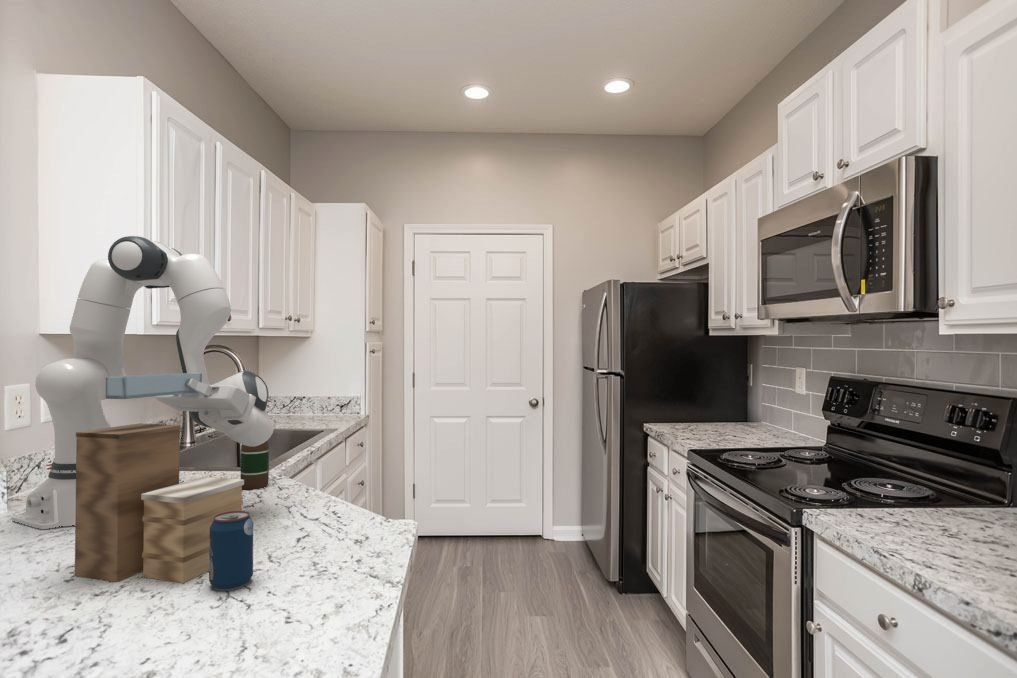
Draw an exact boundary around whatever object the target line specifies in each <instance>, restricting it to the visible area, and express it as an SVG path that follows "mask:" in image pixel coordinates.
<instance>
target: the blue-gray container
mask: <svg viewBox="0 0 1017 678" xmlns="http://www.w3.org/2000/svg"><path fill="white" fill-rule="evenodd" d="M187 379H195V380H197V381H198V382H201V383H202V373H183V372H182V373H181V372H180V373H178V372H177V373H164V374H163V373H160V374H159V373H158V374H144V375H140V374H139V375H126V376H119V377H106V393H105V400H109V399H110V400H130V399H139V398H141V399H142V398H150V397H151V398H153V397H156V396H164V395H175V394H186V393H196V392H197V391H195V390H193V389H189V388H187V387H186V386H185V382H186V380H187Z"/></svg>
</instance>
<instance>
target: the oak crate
mask: <svg viewBox="0 0 1017 678" xmlns="http://www.w3.org/2000/svg"><path fill="white" fill-rule="evenodd" d="M242 485H244V480H242V479H241V478H229V477H226V478H225V477H212V476H202V477H199V478H195V479H192V480H188V481H184V482H181V483H180V482H179V484H177V485H173V486H169V487H165V488H162V489H158V490H154V491H151V492H147V493H143V494H141V500H144V516H142V521H143V522H144V550H143V552H142V558H143V572H142V573H143V575H142V576H143V577H142V578H145V579H153V580H161V581H167V582H173V583H180V584H181V583H182V584H185V583H186V582H188V581H190V580H192V578H193V579H195V578H196V577H199V576H202V575H203V574H205V573H208V572H209V538H210V526H211V524H212V522H213V520H214V519H213V518H214V516H216V515H218V514H221V513H225V512H230V511H243V510H242V506H243V504H244V502H243V501H244V500H243V499H242V498H243V495H242V494H243V491H242V490H243V489H242Z"/></svg>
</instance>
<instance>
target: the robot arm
mask: <svg viewBox="0 0 1017 678" xmlns="http://www.w3.org/2000/svg"><path fill="white" fill-rule="evenodd" d="M143 287H144V288H145V289H149V290H150V289H164V288H166V289H167V288H170V289H171V291H172V293H173V294H174V297H175V300H176V303H177V306H178V308H179V313H180V321H179V322H180V323H179V328H178V329H177V331H176V334H175V341H176V347H177V353H178V357H179V362H180V363H179V364H180V367H181V371H182V373H202V383H201V382H198V381H197V380H195V379H187V380H186V382H185V386H186V387H187V388H189V389H193V390H195V391H197V392H196V393H186V394H175V395H164V396H155V398H156V400H157V401H159V402H160V403H163V404H164V405H165V406H168V407H171V408H173V409H174V410H177V411H180V412H181V411H182V412H188V415H189V416H190V418H191V420H192V421H193V422H194V423H196V424H197V425H200V426H202V427H206V428H210V429H214V430H215V431H217V432H219V433H224V435H225V436H227V437H228V438H229V439H230V440H233V441H235V442H236V443H238V444H240V445H242V444H243V445H246V446H250V447H255V446H258V445H261V444H263V443H264V442H266V441H268V440H269V439H270V438H271V437H272V435H273V433H274V429H275V426H274V422H273V421H272V419H271V418H270V416H269V414H268V413H267V406H268V401H269V396H270V395H269V388H268V386H267V384H266V382H265V380H264V379H263V378H261V376H259V375H258V374H256V373H255V372H252V371H250V370H244V371H241V372H238V373H235V374H233V375H231V376H229V377H226V378H224V379H223V380H220V381H217V382H215V383H213V384H210V380H209V376H208V372H207V366H206V363H205V358H204V356H205V355H204V352H205V350H206V349H205V348H206V347H207V345H208V344H209V342H210V341H211V340H212V339H213V337H215V335H216V334H217V333H218V332H220V330H222V329H223V328H224V326H225V325H226V324H227V322H228V320H229V318H230V316H231V312H232V308H231V303H230V299H229V296H228V294H227V292H226V289H225V287H224V283H222V280H221V279H220V277H219V275H218V273H217V271H216V270H215V268H214V266H213V265H212V263H211V262H210V261H209V259H208V258H206V256H205V255H202V254H198V253H184V254H183V253H181V252H180V251H178V250H177V249H175V248H173V247H170V246H169V245H167V244H164V243H162V242H160V241H157V240H151V239H148V238H146V237H144V236H143V237H142V236H137V235H136V236H135V235H129V236H123V237H120V238H118V239H117V240H115V241H114V242H112V244H111V245H110V248H109V250H108V253H107V258H105V259H98V260H95V261H94V262H93V263H92V264H91V265H90V267H89V269H88V270H87V272H86V274H85V277H84V279H83V281H82V283H81V286H80V289H79V291H78V294H77V300H76V303H75V306H74V309H73V313H72V317H71V320H70V325H69V333H70V335H71V336H72V340H73V358H63V359H59V360H56V361H54V362H52V363H49V364H48V365H45V366H44V367H43V368H42V369H40V370H39V372H38V373H37V375H36V378H35V389H36V392H37V394H38V395H39V397H40V398H42V399H43V401H45V403H46V406H47V408H48V411H49V414H50V418H51V421H52V424H53V432H54V461H53V462H52V463H51V464H46V467H47V468H46V470H47V471H48V470H49V472H48V475H47V477H48V478H47V479H45V481H43V482H42V483H41V484H39V486H37V487H36V488H35V489H34V490H32V491H31V492H30V493H28V495H27V497H26V502H25V511H24V512H21V513H18V514H16V515H14V516H13V517H12V520H11V521H12V522H14V521H15V522H14V523H17V522H19V523H18V524H21V523H22V524H21V525H24V524H25V526H28V525H29V527H31V526H32V528H35V529H38V528H39V529H38V530H48V529H49V528H50V529H55V527H56V528H62V527H61V526H63V527H71V526H72V525H74V526H75V517H76V442H77V437H76V432H81V431H88V430H96V429H103V428H110V427H111V423H110V422H109V421H108V420H107V418H106V416H105V413H104V409H103V405H102V401H104V400H106V399H105V393H106V377H119V376H127V374H126V371H125V369H124V363H123V360H124V359H123V357H124V339H125V333H126V330H127V326H128V323H129V317H130V313H131V310H132V305H133V301H134V298H135V295H136V293H137V291H138V290H140V289H141V288H143ZM59 526H60V527H59ZM72 527H73V526H72ZM50 529H49V530H50Z"/></svg>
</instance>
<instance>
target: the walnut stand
mask: <svg viewBox="0 0 1017 678" xmlns="http://www.w3.org/2000/svg"><path fill="white" fill-rule="evenodd" d="M181 427H182V426H181V424H164V423H163V424H160V423H142V422H141V423H133V424H132V423H131V424H127V425H126V424H125V425H118V426H113V427H110V428H103V429H96V430H88V431H81V432H76V437H77V442H76V517H75V525H74V528H75V532H74V533H75V534H74V536H75V537H74V541H75V542H74V576H75V577H80V578H85V577H86V579H92V578H93V579H92V580H99V579H102V580H101V581H105V580H107V582H112V581H113V582H112V583H118V581H119V582H120V581H123V580H125V579H128V578H130V577H132V576H136V575H138V574H140V573H143V558H142V552H143V550H144V522H143V521H142V516H144V500H141V494H143V493H147V492H151V491H154V490H158V489H162V488H165V487H169V486H173V485H177V484H180V450H181V449H180V439H181V438H180V435H181V434H180V433H181V432H180V431H181V429H182V428H181ZM137 573H138V574H137Z"/></svg>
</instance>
